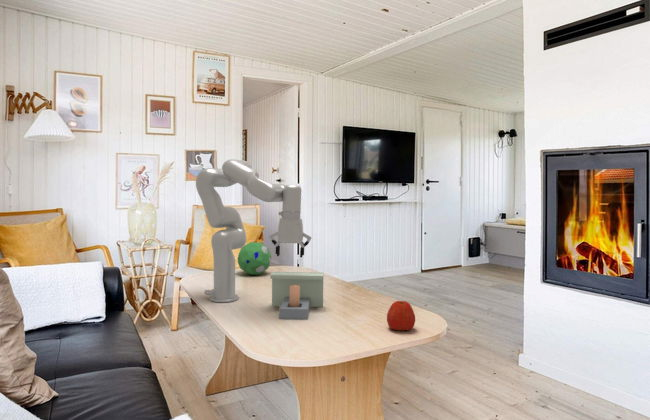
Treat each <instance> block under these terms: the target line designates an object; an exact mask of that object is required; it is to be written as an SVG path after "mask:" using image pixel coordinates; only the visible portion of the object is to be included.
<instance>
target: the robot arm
mask: <svg viewBox="0 0 650 420" xmlns="http://www.w3.org/2000/svg"><path fill="white" fill-rule="evenodd" d="M259 176H260V175H259V172H258V171H257V170H256V169H253V168H252V165H251V164H250V163H249V162H248V161H246V160H243V159H233V158H232V159H227V160H225V161H224V162H223V163H222V166H221V168H215V167H207V168H203V169H202V170H200V171H199V172H198V174H197V176H196V179H195V187H196V192H197V194H198V195H199V198H200V200H201V203H202V207H203V209H204V213H205V216H206V218H207V222H208V224H209V226H210V227H211V228H214V229H220V230H217V231H215V232H214V233H213V235H212V237H211V240H210V241H211V242H210V243H211V248H212V255H213V288H212V289H211V290H210V289H205V290H204V295H205V296H208V295H209V296H210V298H209V299H210V301H211V302H213V303H231V302H235V301H238V300H239V298H240V296H239V295H238V294H236V259H235V258H236V257H235V255H234V252H233V250H237V249H241V248H242V247H244V246H245V245H246V243H247V234H246V233H247V232H246V230H245V227H244V224H243V222H242V217H241V215H240V213H239V212H238V210H237V209H236V208H234V207H233V206H232V207H231V206H224V203H223V201H222V197H221V195H220V194H219V193H218V191H217V190H216V189H215V188H229V187H232V186H233V185H236V184H238V185H241V186H243V187H244V188H245V189H246V190H247V192H248V193H249V194H250V195H251V196H253V197H255V198H256V199H259V200H261V201H262V202H266V203H281V202H282V208H281V209H282V210H281V211H278V216H281V218H279V222H278V227H277V229H278V230H277V232H273V233H272V234H270V235H269V239H270V242H271V243H272V244H273V245H274V247H275V255H276V257H279V256H280V255H281V253H280V252H281V249H280V248H281V246H280V244H281V243H282V244H283V243H284V244H299V245H300V248H299V249H300V250H299V251H300V253H299V257H300V258H303V256H305V247H306V246H308V244H309V243H310V242H311V240H312V236H310V235H308V234H306V233H305V232H304V228H303V227H304V226H303V219H302V218H301V213H302V212H301V210H302V208H301V207H302V188H301V187H302V186H300V185H297V184H296V185H293V184H287V185H286V184H282V183H268V182H266V181H264V180H262V179H260V178H259ZM222 228H223V229H222ZM224 228H225V229H224ZM276 236H277V241H276V239H275V237H276ZM303 238H305V239H306V241H305V242H304V241H303Z"/></svg>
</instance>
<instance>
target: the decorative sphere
mask: <svg viewBox="0 0 650 420" xmlns="http://www.w3.org/2000/svg"><path fill="white" fill-rule="evenodd" d="M271 261H272V254H271V252H270V249H269V248H268V247H267V246H266V245H264V244H263V243H262V242H257V241H255V242H252V241H251V242H248V243H247V244H246V243H245V245H244V246H243V247H242V248H240V250H239V252H238V256H237V264H238V266H239V268H240V270H242V271H243V272H244V273H246V274H247V275H248V276H260V275H261V274H263V273H264V272H266V271H267V270H268V269H269V268H270V264H271Z"/></svg>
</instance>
